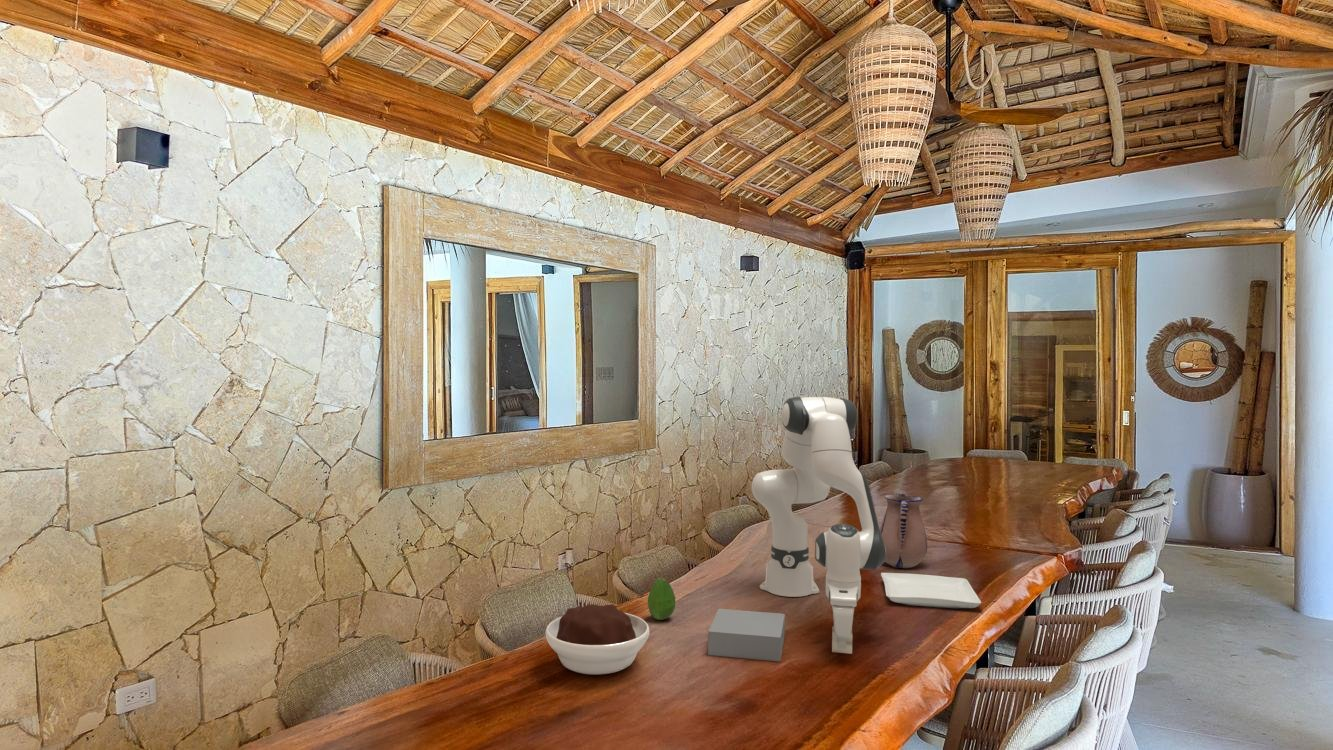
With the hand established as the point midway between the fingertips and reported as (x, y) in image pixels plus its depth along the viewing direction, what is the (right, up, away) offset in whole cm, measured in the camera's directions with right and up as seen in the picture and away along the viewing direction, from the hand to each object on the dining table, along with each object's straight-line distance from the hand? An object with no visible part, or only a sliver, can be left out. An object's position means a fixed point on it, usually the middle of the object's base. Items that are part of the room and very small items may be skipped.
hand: (842, 642), depth 203 cm
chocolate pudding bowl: (-62, -2, -12) cm, 63 cm away
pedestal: (-24, -1, +2) cm, 24 cm away
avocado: (-47, -1, +21) cm, 51 cm away
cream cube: (0, -2, 0) cm, 2 cm away
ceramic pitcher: (+39, 0, +80) cm, 89 cm away
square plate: (+37, -1, +45) cm, 59 cm away
